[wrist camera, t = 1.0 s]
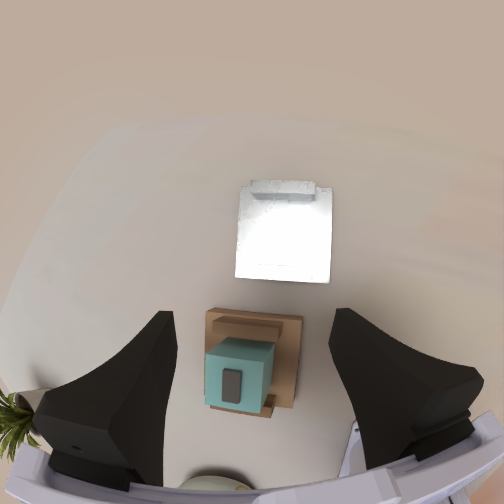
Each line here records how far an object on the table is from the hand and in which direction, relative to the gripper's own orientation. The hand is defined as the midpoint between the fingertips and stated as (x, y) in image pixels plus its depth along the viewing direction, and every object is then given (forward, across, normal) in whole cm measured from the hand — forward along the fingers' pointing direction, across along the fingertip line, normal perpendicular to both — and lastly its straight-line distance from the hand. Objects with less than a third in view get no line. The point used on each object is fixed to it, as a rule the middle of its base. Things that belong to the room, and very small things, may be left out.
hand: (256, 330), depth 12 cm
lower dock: (+13, -4, 0) cm, 14 cm away
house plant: (+12, +27, +26) cm, 40 cm away
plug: (+8, -1, +9) cm, 12 cm away
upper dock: (+9, -1, +10) cm, 14 cm away
